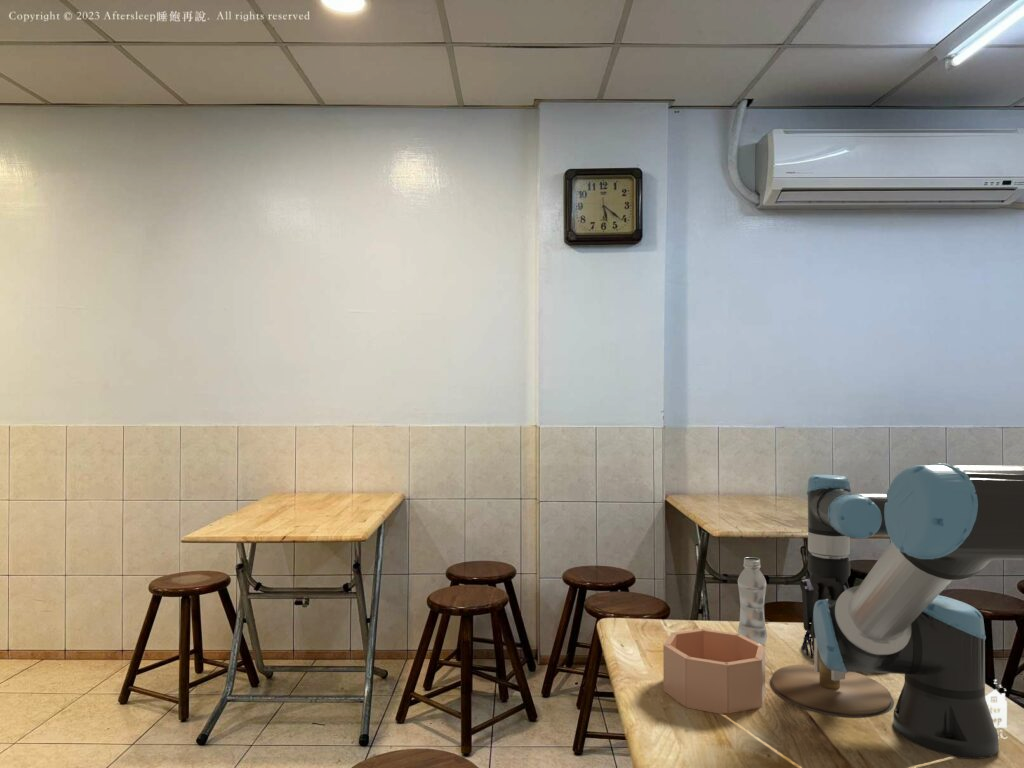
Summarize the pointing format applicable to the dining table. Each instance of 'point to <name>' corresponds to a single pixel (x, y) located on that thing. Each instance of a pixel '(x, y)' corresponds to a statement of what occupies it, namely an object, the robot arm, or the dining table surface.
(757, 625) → the plastic bottle
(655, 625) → the dining table surface
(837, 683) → the lid
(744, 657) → the bowl
